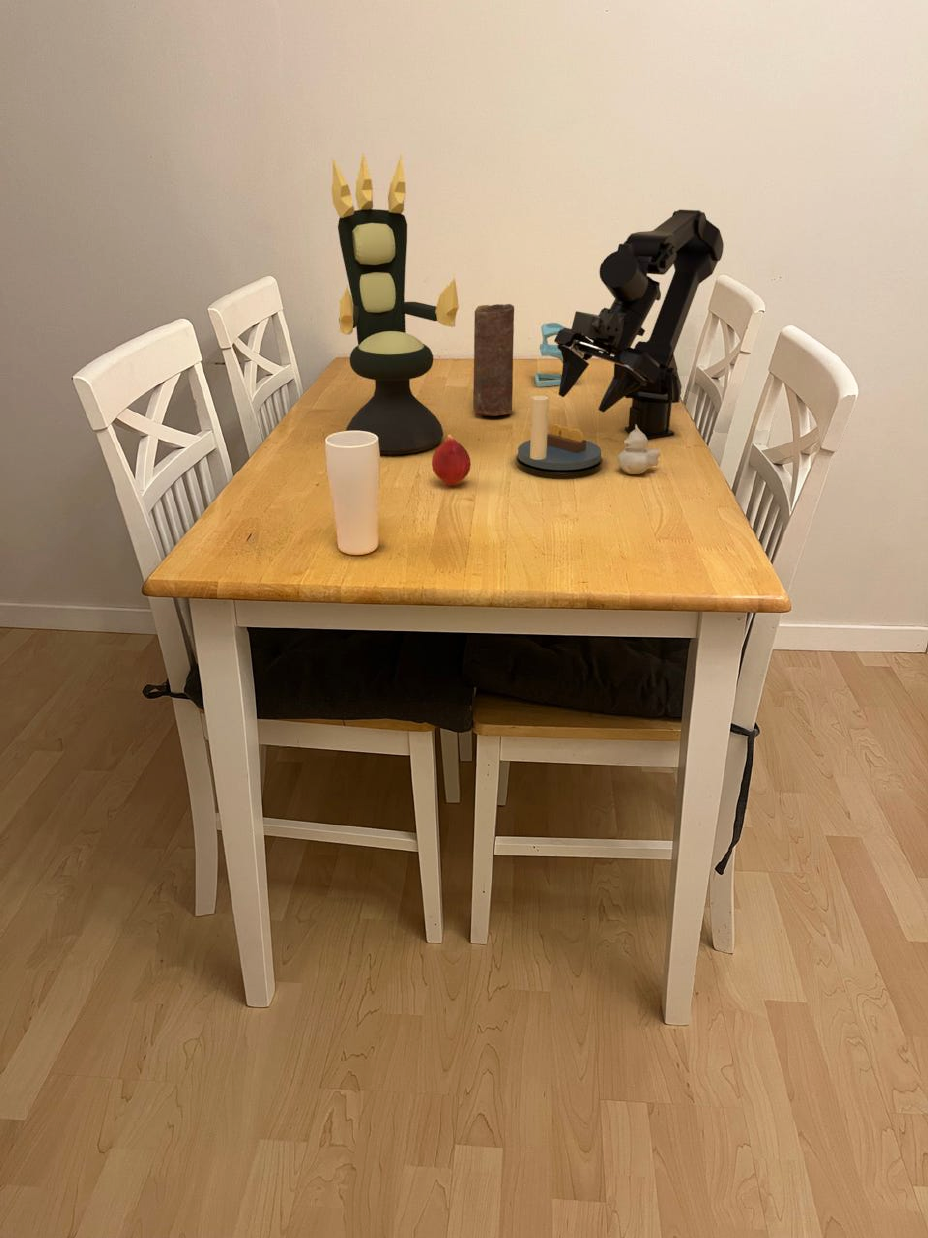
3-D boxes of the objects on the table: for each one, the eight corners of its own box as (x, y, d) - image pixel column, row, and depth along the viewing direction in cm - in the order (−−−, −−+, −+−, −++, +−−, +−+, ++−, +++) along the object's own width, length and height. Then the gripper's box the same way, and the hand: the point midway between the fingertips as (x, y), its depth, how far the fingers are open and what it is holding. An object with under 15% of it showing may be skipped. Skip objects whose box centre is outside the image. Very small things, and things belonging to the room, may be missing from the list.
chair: (576, 386, 199) (579, 327, 193) (536, 386, 199) (538, 327, 193) (573, 377, 206) (576, 319, 200) (534, 377, 206) (536, 319, 200)
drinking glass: (333, 539, 129) (325, 430, 122) (383, 537, 130) (378, 429, 123) (331, 560, 123) (323, 447, 116) (384, 558, 124) (379, 445, 117)
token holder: (553, 438, 164) (555, 375, 159) (617, 455, 156) (622, 390, 151) (500, 457, 155) (502, 391, 150) (566, 476, 147) (569, 407, 142)
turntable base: (573, 446, 164) (573, 440, 164) (619, 470, 153) (619, 464, 153) (500, 457, 159) (500, 451, 159) (542, 484, 148) (543, 478, 148)
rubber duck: (614, 467, 155) (617, 418, 151) (654, 466, 155) (659, 418, 151) (619, 478, 150) (623, 428, 146) (661, 478, 150) (666, 428, 146)
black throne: (353, 465, 156) (335, 157, 135) (320, 427, 174) (299, 151, 153) (462, 451, 162) (460, 155, 141) (418, 416, 180) (411, 149, 159)
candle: (508, 422, 177) (510, 309, 167) (469, 420, 178) (469, 308, 169) (515, 410, 183) (517, 302, 174) (477, 408, 185) (477, 300, 175)
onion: (475, 481, 149) (475, 431, 145) (463, 494, 144) (463, 442, 140) (440, 477, 151) (439, 428, 147) (426, 490, 146) (425, 438, 142)
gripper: (558, 277, 151) (511, 367, 153) (645, 299, 138) (593, 398, 140) (597, 310, 159) (552, 396, 161) (682, 334, 146) (633, 427, 148)
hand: (580, 403), depth 153 cm, fingers open, 9 cm apart
